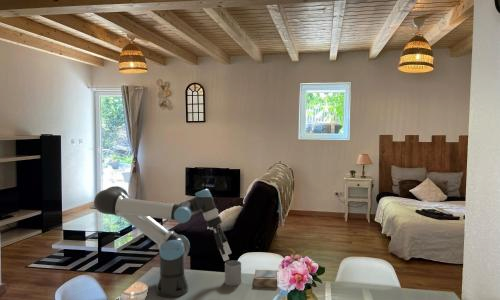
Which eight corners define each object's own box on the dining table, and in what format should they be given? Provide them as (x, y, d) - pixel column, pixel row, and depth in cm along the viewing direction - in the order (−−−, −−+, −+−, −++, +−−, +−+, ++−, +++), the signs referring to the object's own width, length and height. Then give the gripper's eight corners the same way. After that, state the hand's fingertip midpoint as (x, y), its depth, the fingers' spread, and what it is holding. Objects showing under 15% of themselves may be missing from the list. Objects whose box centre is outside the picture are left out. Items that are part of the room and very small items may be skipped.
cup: (242, 279, 195) (242, 260, 194) (240, 285, 186) (240, 266, 186) (226, 278, 195) (226, 260, 195) (223, 285, 187) (223, 265, 187)
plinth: (253, 286, 186) (253, 277, 186) (255, 277, 198) (255, 269, 198) (277, 287, 185) (277, 278, 184) (278, 277, 197) (278, 269, 196)
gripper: (216, 218, 179) (232, 260, 177) (222, 212, 204) (236, 249, 202) (201, 224, 179) (218, 265, 178) (209, 217, 204) (223, 254, 202)
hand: (227, 257), depth 190 cm, fingers open, 13 cm apart
